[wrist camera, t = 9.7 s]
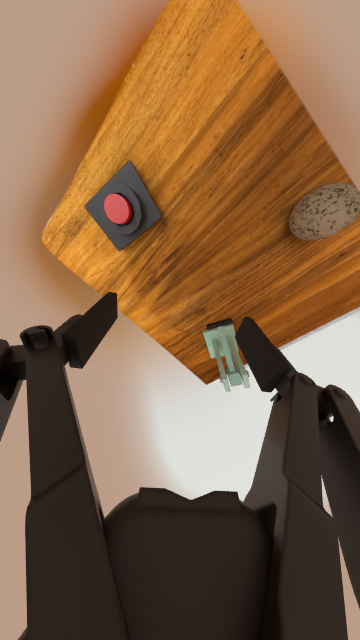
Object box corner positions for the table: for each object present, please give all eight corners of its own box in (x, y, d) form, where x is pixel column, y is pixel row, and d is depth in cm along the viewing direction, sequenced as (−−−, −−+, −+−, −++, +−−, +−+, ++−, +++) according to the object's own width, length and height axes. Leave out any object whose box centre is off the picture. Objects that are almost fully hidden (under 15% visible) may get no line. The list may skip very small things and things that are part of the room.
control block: (133, 165, 23) (125, 154, 20) (163, 217, 27) (161, 215, 23) (90, 207, 26) (77, 204, 22) (122, 249, 29) (115, 252, 26)
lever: (205, 323, 31) (206, 326, 29) (229, 316, 30) (232, 319, 28) (222, 381, 33) (224, 387, 31) (245, 376, 33) (249, 383, 30)
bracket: (202, 330, 40) (211, 372, 28) (232, 322, 39) (254, 363, 27) (210, 355, 45) (221, 400, 33) (237, 349, 44) (258, 393, 32)
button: (120, 189, 22) (116, 187, 20) (136, 214, 23) (134, 214, 22) (103, 206, 23) (98, 204, 21) (120, 229, 24) (116, 229, 23)
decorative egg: (297, 183, 24) (360, 158, 16) (332, 198, 25) (408, 183, 17) (271, 232, 28) (311, 233, 19) (302, 243, 29) (353, 250, 20)
